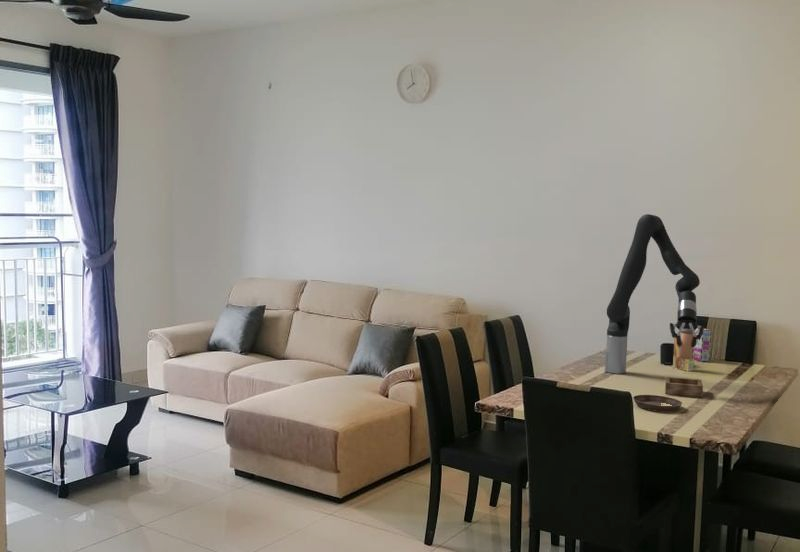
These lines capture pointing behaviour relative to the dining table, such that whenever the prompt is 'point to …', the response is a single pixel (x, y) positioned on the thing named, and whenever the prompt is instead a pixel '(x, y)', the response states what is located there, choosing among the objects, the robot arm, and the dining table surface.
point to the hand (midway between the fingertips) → (686, 345)
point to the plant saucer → (657, 402)
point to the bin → (684, 387)
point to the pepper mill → (686, 344)
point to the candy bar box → (703, 346)
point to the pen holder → (666, 353)
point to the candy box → (682, 363)
